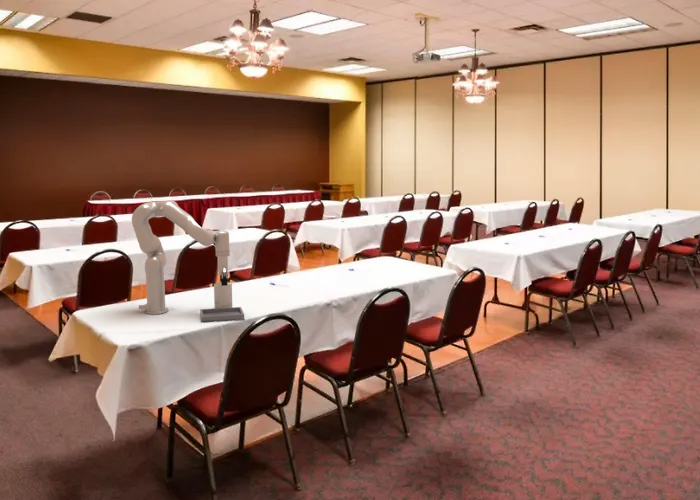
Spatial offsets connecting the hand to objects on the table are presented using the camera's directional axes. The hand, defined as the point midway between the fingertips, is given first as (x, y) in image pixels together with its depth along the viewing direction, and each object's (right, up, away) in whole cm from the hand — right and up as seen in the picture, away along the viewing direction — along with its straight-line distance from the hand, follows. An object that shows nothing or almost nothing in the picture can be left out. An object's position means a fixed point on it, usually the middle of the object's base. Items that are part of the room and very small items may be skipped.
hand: (223, 283), depth 342 cm
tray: (+1, -17, -11) cm, 21 cm away
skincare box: (-1, -15, +2) cm, 16 cm away
